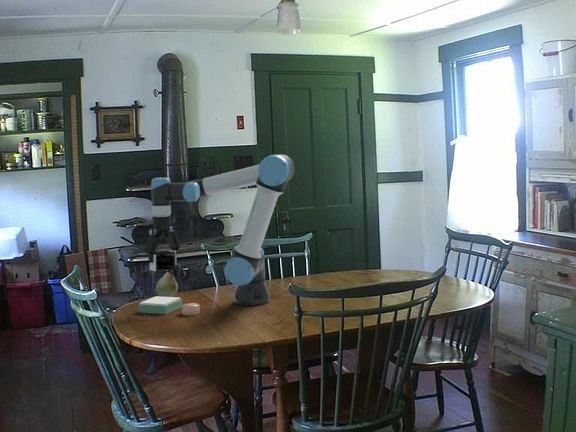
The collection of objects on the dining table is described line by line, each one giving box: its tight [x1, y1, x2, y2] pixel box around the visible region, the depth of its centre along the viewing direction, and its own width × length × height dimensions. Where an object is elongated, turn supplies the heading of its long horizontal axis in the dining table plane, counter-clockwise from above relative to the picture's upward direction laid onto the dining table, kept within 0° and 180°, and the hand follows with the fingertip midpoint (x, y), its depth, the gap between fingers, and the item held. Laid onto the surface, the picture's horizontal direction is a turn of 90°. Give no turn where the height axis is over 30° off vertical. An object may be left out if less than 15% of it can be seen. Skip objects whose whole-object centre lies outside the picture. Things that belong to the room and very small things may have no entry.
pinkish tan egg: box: [181, 302, 201, 317], centre depth 278 cm, size 7×7×4 cm
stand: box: [137, 295, 184, 315], centre depth 287 cm, size 13×13×4 cm
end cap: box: [154, 251, 177, 272], centre depth 286 cm, size 10×7×7 cm
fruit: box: [155, 270, 179, 297], centre depth 309 cm, size 10×9×12 cm
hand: (163, 268), depth 286 cm, fingers closed on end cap, 11 cm apart
